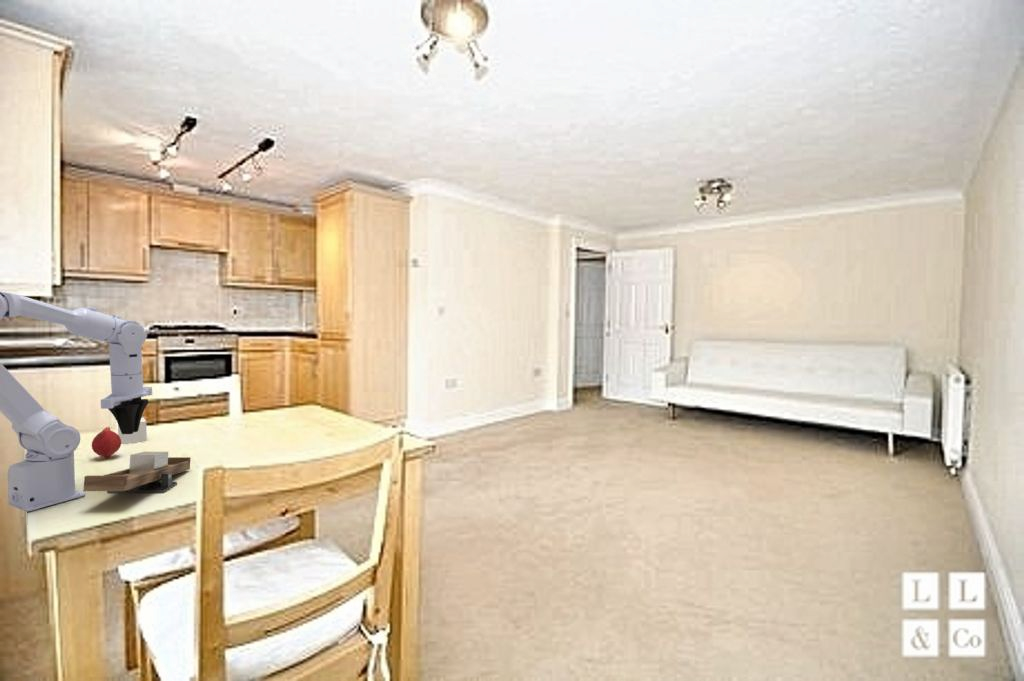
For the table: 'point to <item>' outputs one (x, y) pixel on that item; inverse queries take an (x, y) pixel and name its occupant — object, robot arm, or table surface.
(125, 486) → the balance beam
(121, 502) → the table surface
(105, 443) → the onion
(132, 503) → the table surface
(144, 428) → the white cube
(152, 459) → the block
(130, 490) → the beam stand
